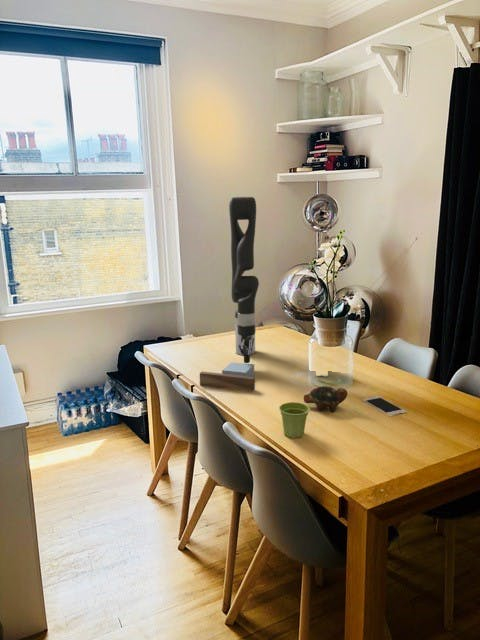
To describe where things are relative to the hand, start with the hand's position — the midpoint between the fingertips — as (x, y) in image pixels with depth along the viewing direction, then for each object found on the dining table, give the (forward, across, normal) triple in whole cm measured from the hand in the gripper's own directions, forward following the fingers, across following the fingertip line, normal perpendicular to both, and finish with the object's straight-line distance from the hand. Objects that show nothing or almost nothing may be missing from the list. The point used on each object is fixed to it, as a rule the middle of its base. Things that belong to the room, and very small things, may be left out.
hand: (246, 362), depth 222 cm
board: (+3, +23, 0) cm, 23 cm away
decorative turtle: (+3, +31, +40) cm, 51 cm away
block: (+3, +10, 0) cm, 11 cm away
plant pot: (+3, +54, +35) cm, 64 cm away
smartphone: (+4, +23, +59) cm, 63 cm away
